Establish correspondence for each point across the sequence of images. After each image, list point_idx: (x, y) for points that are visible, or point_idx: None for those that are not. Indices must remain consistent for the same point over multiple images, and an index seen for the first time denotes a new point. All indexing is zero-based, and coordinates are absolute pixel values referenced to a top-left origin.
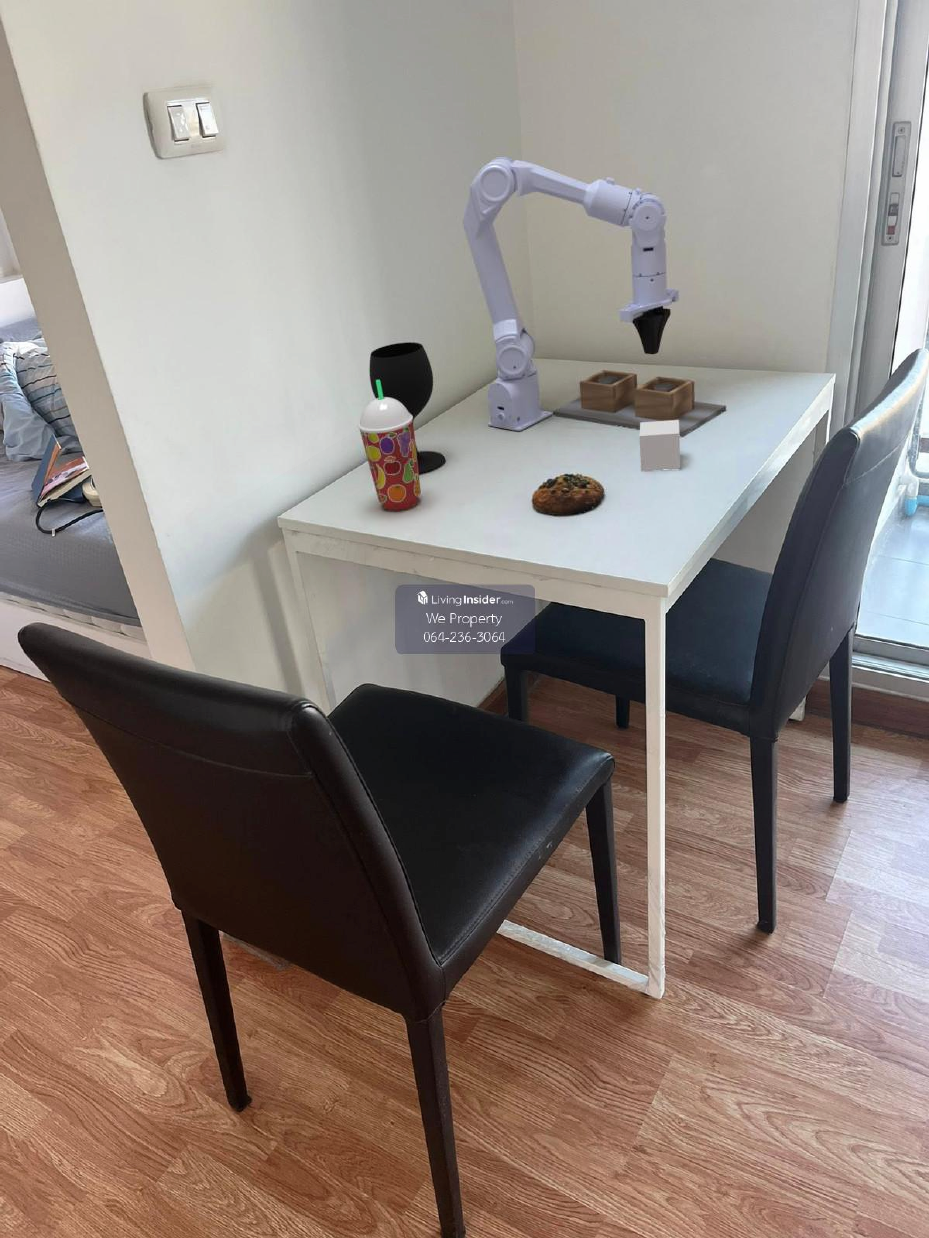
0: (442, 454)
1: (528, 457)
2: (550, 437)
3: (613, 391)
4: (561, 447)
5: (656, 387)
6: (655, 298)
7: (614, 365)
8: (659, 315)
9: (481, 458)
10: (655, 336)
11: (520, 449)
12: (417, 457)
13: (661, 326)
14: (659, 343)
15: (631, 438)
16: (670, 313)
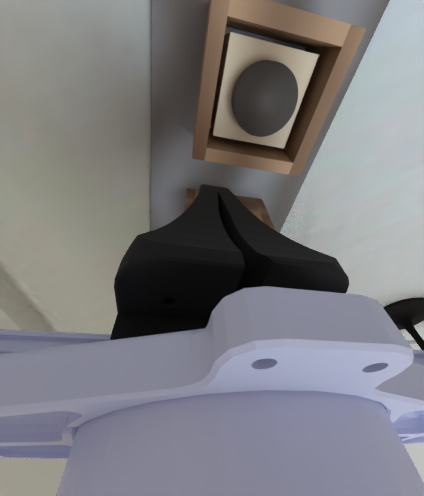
0: (386, 309)
1: (419, 236)
2: (343, 243)
3: (269, 222)
4: (391, 213)
5: (277, 123)
6: (415, 475)
7: (34, 291)
8: (280, 276)
9: (402, 278)
10: (250, 216)
11: (383, 256)
12: (411, 320)
13: (215, 226)
14: (207, 193)
15: (378, 110)
16: (143, 239)
